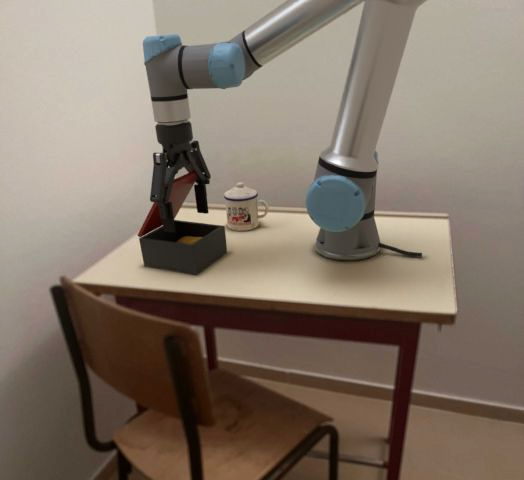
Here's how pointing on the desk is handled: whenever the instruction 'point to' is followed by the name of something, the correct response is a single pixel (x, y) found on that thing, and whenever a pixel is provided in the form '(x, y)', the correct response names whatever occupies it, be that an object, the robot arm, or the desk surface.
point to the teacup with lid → (243, 208)
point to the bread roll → (188, 239)
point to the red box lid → (176, 198)
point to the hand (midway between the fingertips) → (187, 221)
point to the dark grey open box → (184, 247)
